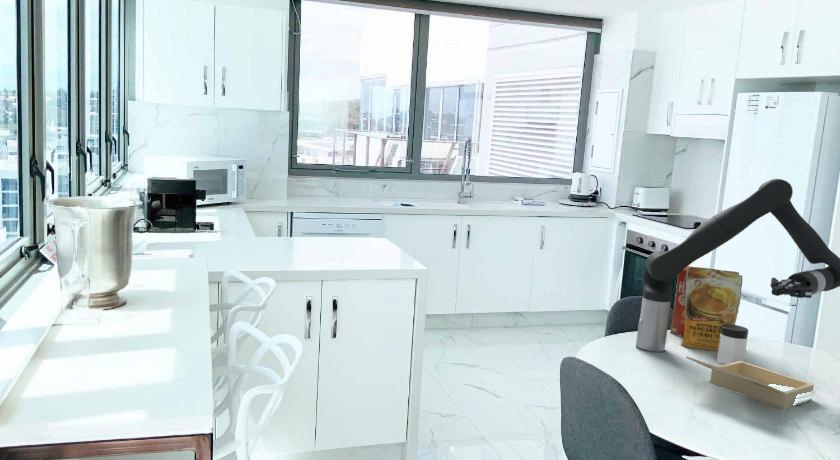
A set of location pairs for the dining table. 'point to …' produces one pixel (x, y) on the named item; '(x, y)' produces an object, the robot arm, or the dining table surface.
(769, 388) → the lid
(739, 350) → the jar
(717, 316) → the pancake mix bag
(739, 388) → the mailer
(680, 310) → the food packaging
